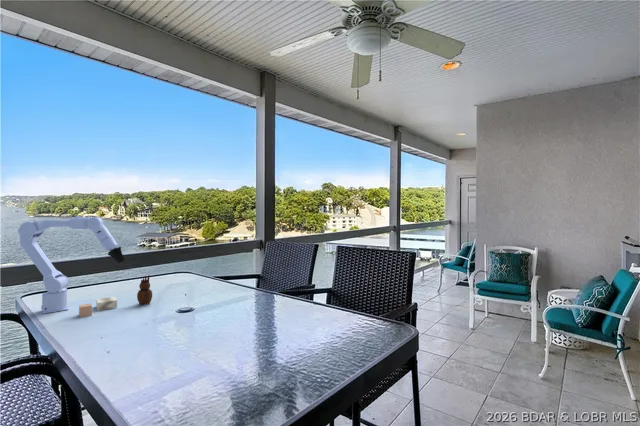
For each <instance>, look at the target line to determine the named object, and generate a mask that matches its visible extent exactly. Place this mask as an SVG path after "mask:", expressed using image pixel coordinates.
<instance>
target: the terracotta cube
mask: <svg viewBox="0 0 640 426" xmlns="http://www.w3.org/2000/svg"><path fill="white" fill-rule="evenodd" d="M92 306H93V305H92V303H85V304H78V317H79V318H84V317H85V318H86V317H89V316H90V317H91V316H92V315H93V308H92Z"/></svg>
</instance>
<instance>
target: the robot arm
mask: <svg viewBox="0 0 640 426" xmlns="http://www.w3.org/2000/svg"><path fill="white" fill-rule="evenodd" d="M104 223H105V222H104V220H103V219H102V218H100V217H97V216H94V217H91V216H87V217H80V216H79V215H76V216H73V217H71V218H70V219H42V220H33V221H25V222H23V223H21V224H20V226H19V228H18V230H17V232H18V234H19V245H20V247H22V249H23V251H25V253H26V254H27V256H28V257H29V259H30V260H31V261H32V263H33V264H34V265H35V267H36V268H37V270H38V271H39V272H40V273H41V275H42V276H43V279H42V282H43V284H44V288H45V290H46V292H43V293H42V294H41V295H42V297H41V301H42V302H41V303H42V304H41V308H40V309H41V310H42V312H41V313H42V314H47V313H48V314H50V313H55V312H56V313H57V312H62V311H63V312H64V311H68V310H69V305H68V288H67V287H68V286H69V284H70V279H69V278H68V276H66V275H64V274H63V273H62V272H61V271H59V270H58V269H57V268H55V266H54V265H53V263H52V262H51V260H50V259H49V258H48V256H47V255H46V254H45V252H44V251H43V249H42V248H41V247H40V245H39V244H38V240H39V238H40V237H41V235H43V234H44V233H45V232H46V230H49V229H50V228H60V227H61V228H62V227H64V228H65V227H68V228H70V229H71V230H91V231H92V233H93V235H94V236H95V237H96V239H97V240H98V241H99V243H100V244H101V246H102V247H103V249H104V251H105V252H107V251H108V253H107V256H109V257H111V258H112V259H114V261H115V262H116V263H118V264H120V263H122V262H124V261H125V257H124V254H123V252H122V247H121V246H120V245H119V244H120V241H118V242H117V241H116V240H115V238H114V237H113V236H112V234H111V233H110V231H109V229H107V227H106V225H105V224H104ZM118 245H119V246H118ZM117 246H118V247H117Z"/></svg>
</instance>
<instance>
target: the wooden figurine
mask: <svg viewBox="0 0 640 426" xmlns="http://www.w3.org/2000/svg"><path fill="white" fill-rule="evenodd" d="M138 287H139V290H138V291H137V294H136V297H137V302H138V304H139V305H142V306H143V305H145V306H146V305H150V303H151V302H152V299H153V290H151V289H150V288H151V283H150V274H147V275H145V276H144V277H143V278H142V279H141V280H140V283H139V286H138Z"/></svg>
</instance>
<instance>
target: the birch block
mask: <svg viewBox="0 0 640 426" xmlns="http://www.w3.org/2000/svg"><path fill="white" fill-rule="evenodd" d="M95 300H96V301H95V302H96V310H97V311H98V312H99V311H104V310H111V309H117V308H118V299H117V297H116V296H110V297H103V298H102V297H101V298H96V299H95Z"/></svg>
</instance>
